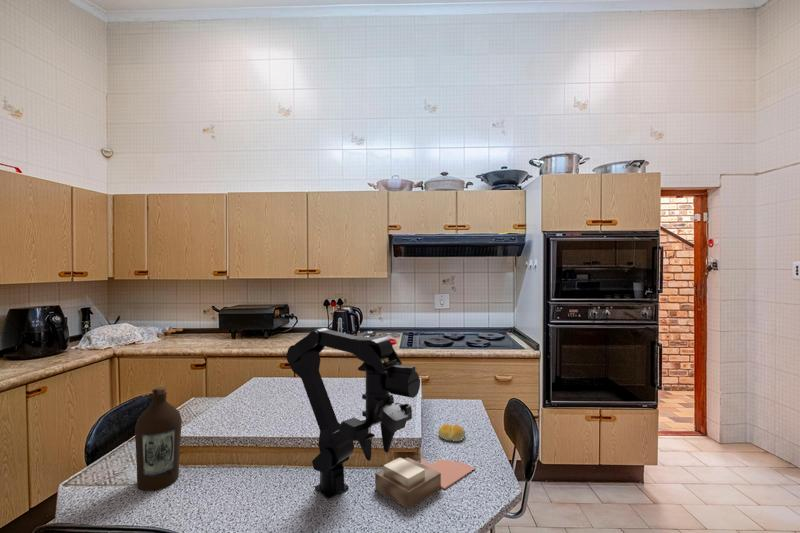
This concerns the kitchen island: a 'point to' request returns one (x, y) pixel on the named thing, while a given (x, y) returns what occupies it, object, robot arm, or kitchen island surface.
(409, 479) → the cream rectangular block
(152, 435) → the olive oil
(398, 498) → the panel
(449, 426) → the bread roll
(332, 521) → the kitchen island surface
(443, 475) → the mat
